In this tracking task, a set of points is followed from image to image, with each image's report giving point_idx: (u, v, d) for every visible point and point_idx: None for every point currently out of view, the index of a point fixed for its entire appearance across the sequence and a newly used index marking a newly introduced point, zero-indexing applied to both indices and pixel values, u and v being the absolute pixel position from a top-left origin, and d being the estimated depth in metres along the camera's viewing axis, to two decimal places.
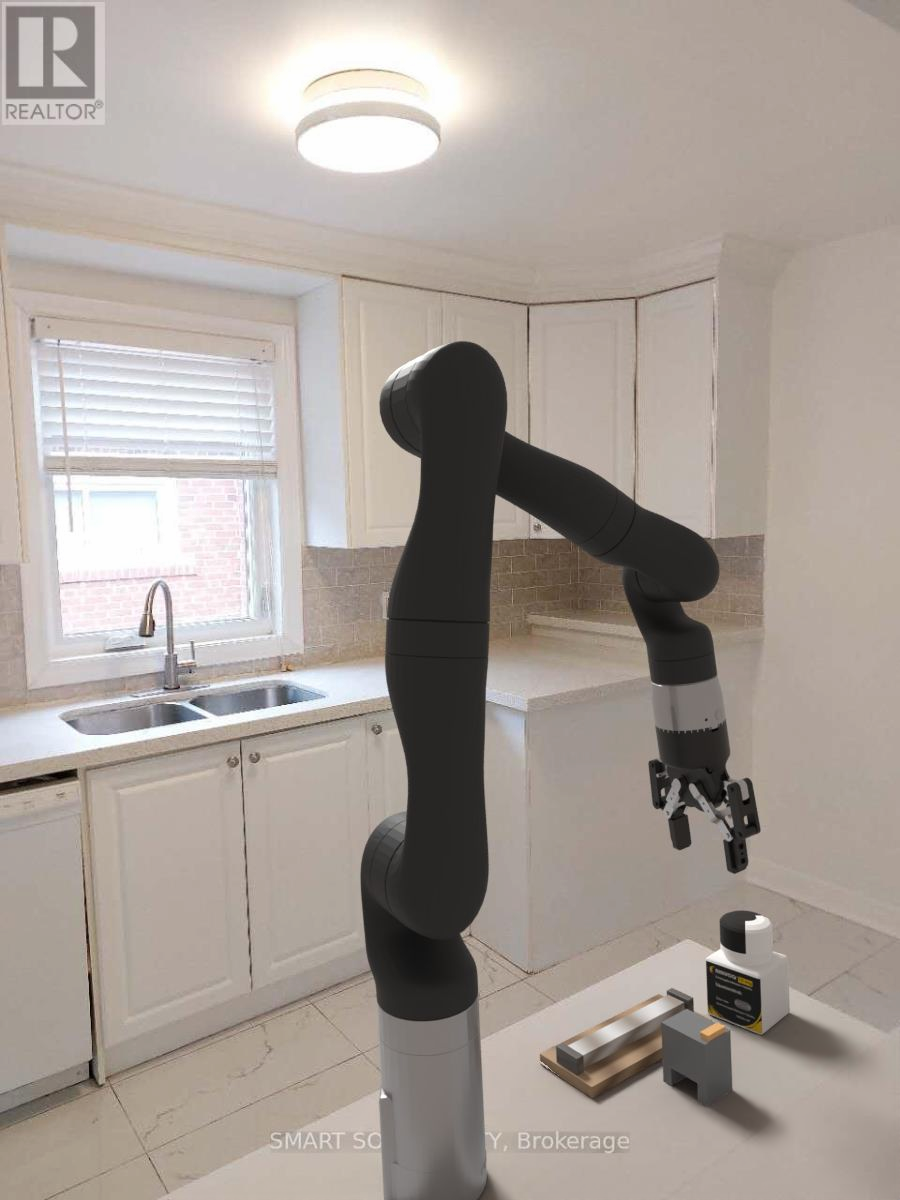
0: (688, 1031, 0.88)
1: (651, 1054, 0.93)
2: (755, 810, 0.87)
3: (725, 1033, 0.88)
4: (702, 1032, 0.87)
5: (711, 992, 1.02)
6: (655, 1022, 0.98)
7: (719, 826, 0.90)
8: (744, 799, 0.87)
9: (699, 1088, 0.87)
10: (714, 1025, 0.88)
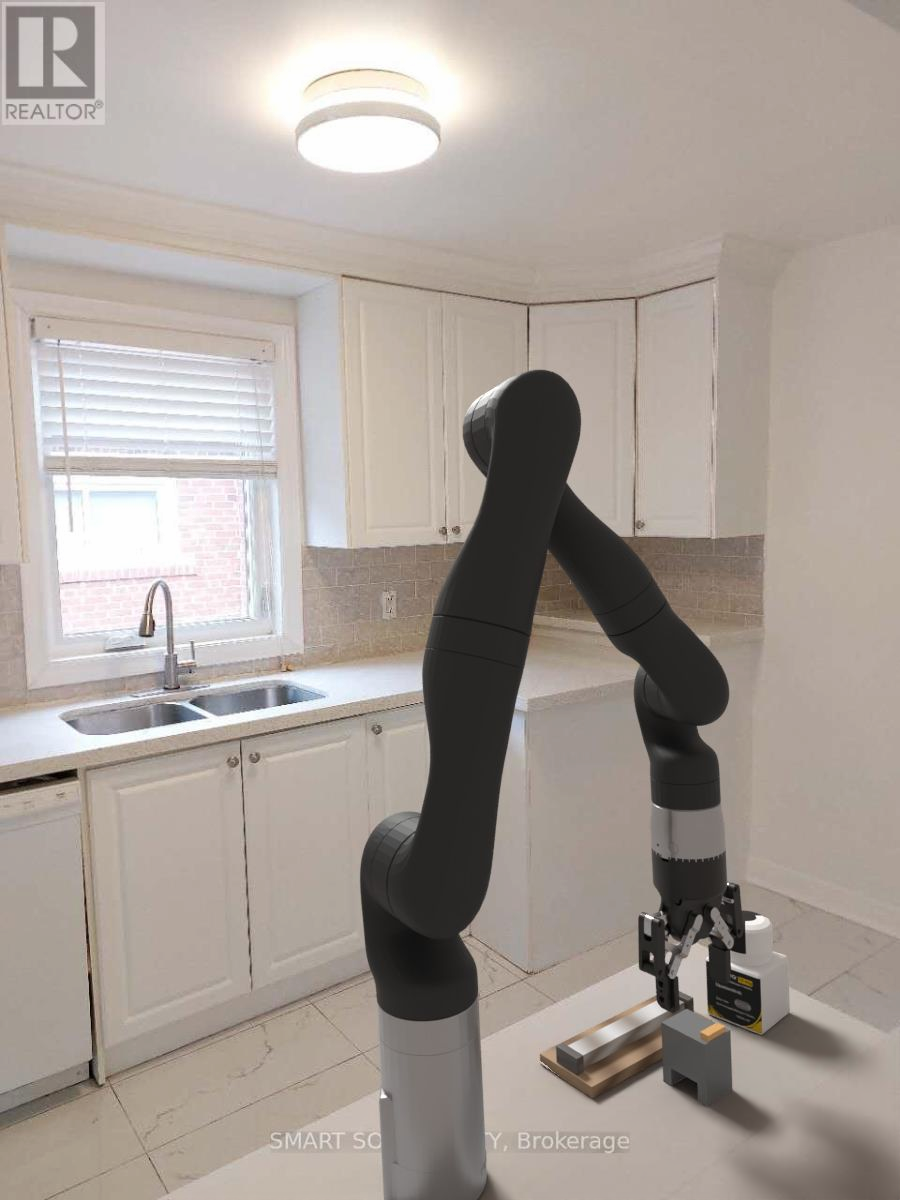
0: (688, 1031, 0.88)
1: (651, 1054, 0.93)
2: (655, 953, 0.84)
3: (725, 1033, 0.88)
4: (702, 1032, 0.87)
5: (711, 992, 1.02)
6: (655, 1022, 0.98)
7: None
8: (646, 934, 0.85)
9: (699, 1088, 0.87)
10: (714, 1025, 0.88)
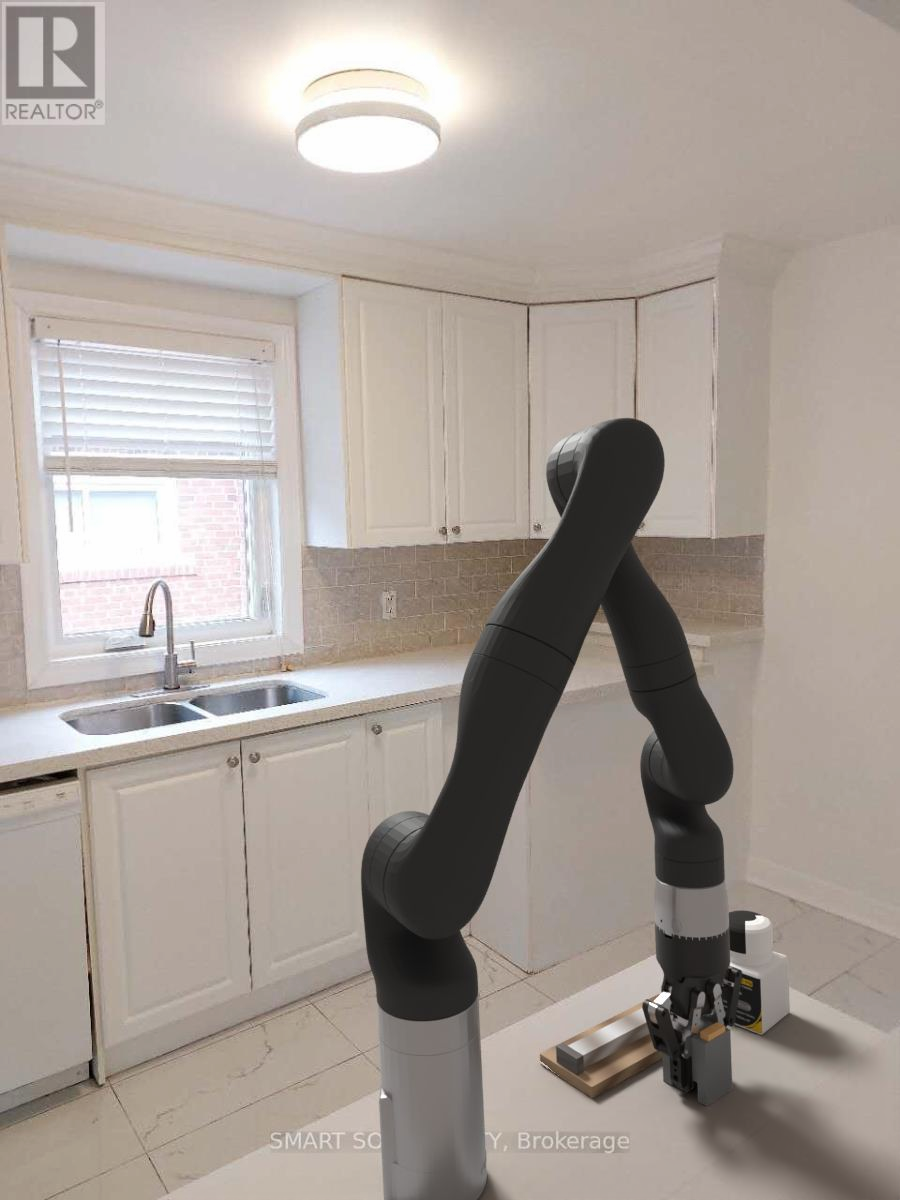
0: None
1: (651, 1054, 0.93)
2: (665, 1039, 0.85)
3: (725, 1032, 0.88)
4: (702, 1032, 0.87)
5: None
6: None
7: None
8: (654, 1022, 0.86)
9: (699, 1088, 0.87)
10: (714, 1025, 0.88)
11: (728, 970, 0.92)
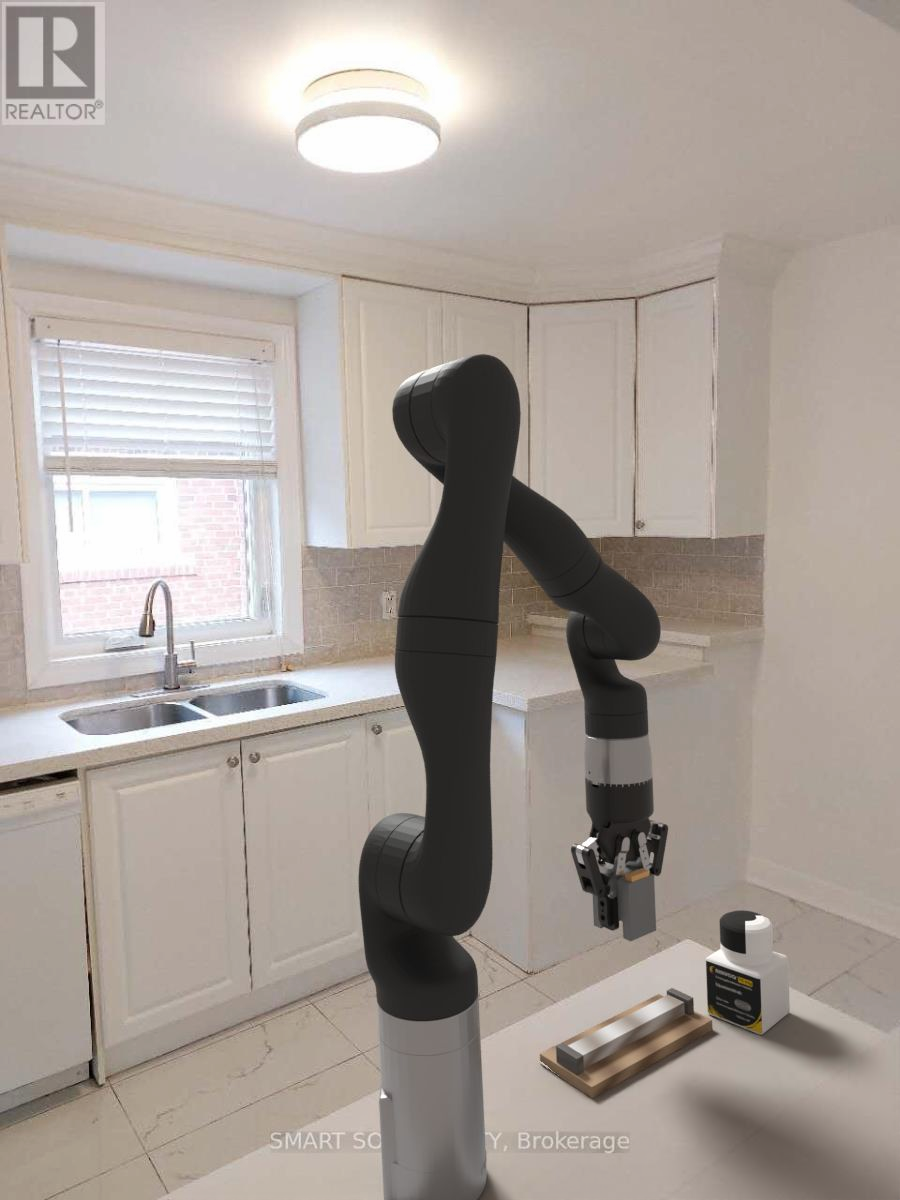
0: None
1: (651, 1054, 0.93)
2: (591, 878, 0.92)
3: (649, 876, 0.95)
4: (627, 874, 0.94)
5: (711, 992, 1.02)
6: (655, 1022, 0.98)
7: None
8: (581, 863, 0.93)
9: (624, 925, 0.94)
10: (639, 870, 0.95)
11: (655, 825, 0.99)
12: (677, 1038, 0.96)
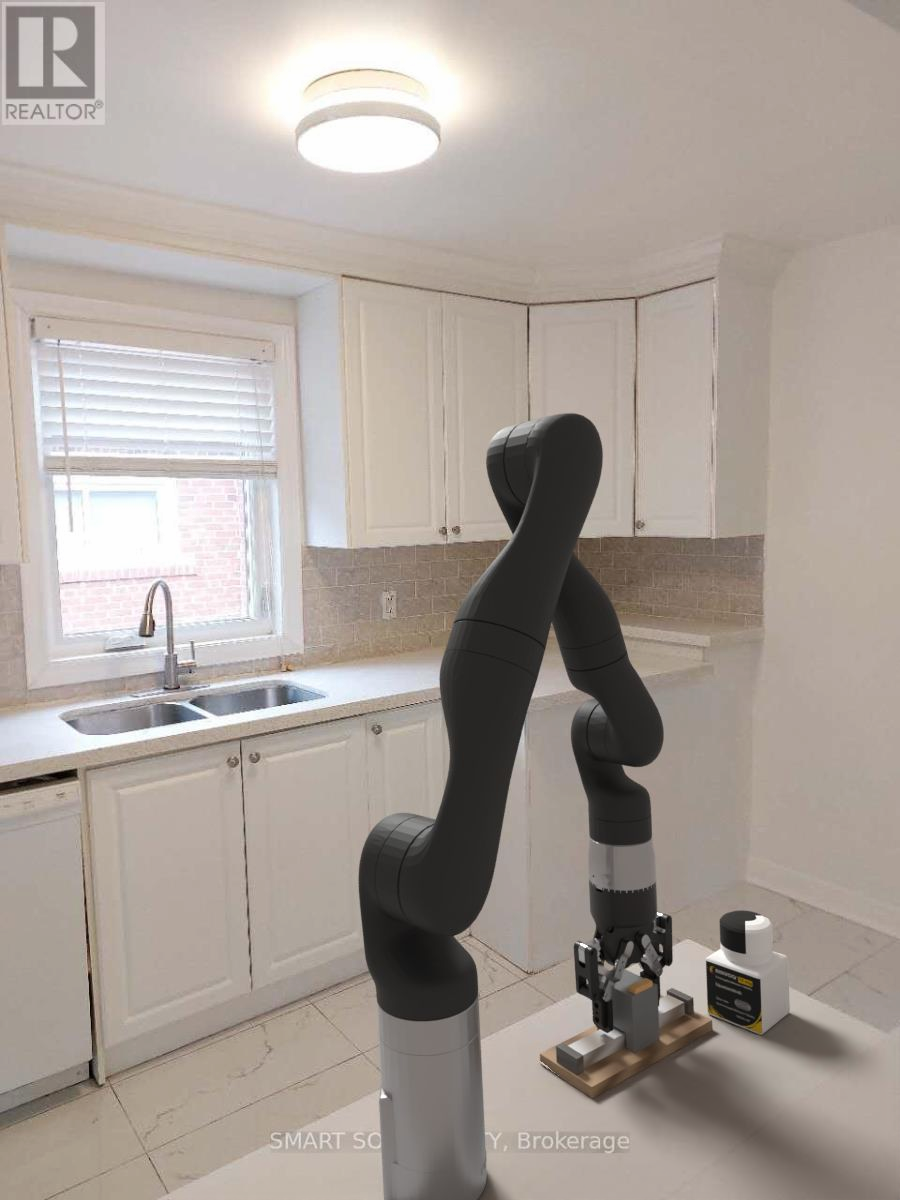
0: (618, 985, 0.96)
1: (651, 1054, 0.93)
2: (589, 979, 0.92)
3: (652, 987, 0.95)
4: (630, 986, 0.95)
5: (711, 992, 1.02)
6: None
7: None
8: (581, 961, 0.93)
9: (627, 1037, 0.94)
10: (642, 980, 0.96)
11: (658, 918, 0.99)
12: (677, 1038, 0.96)
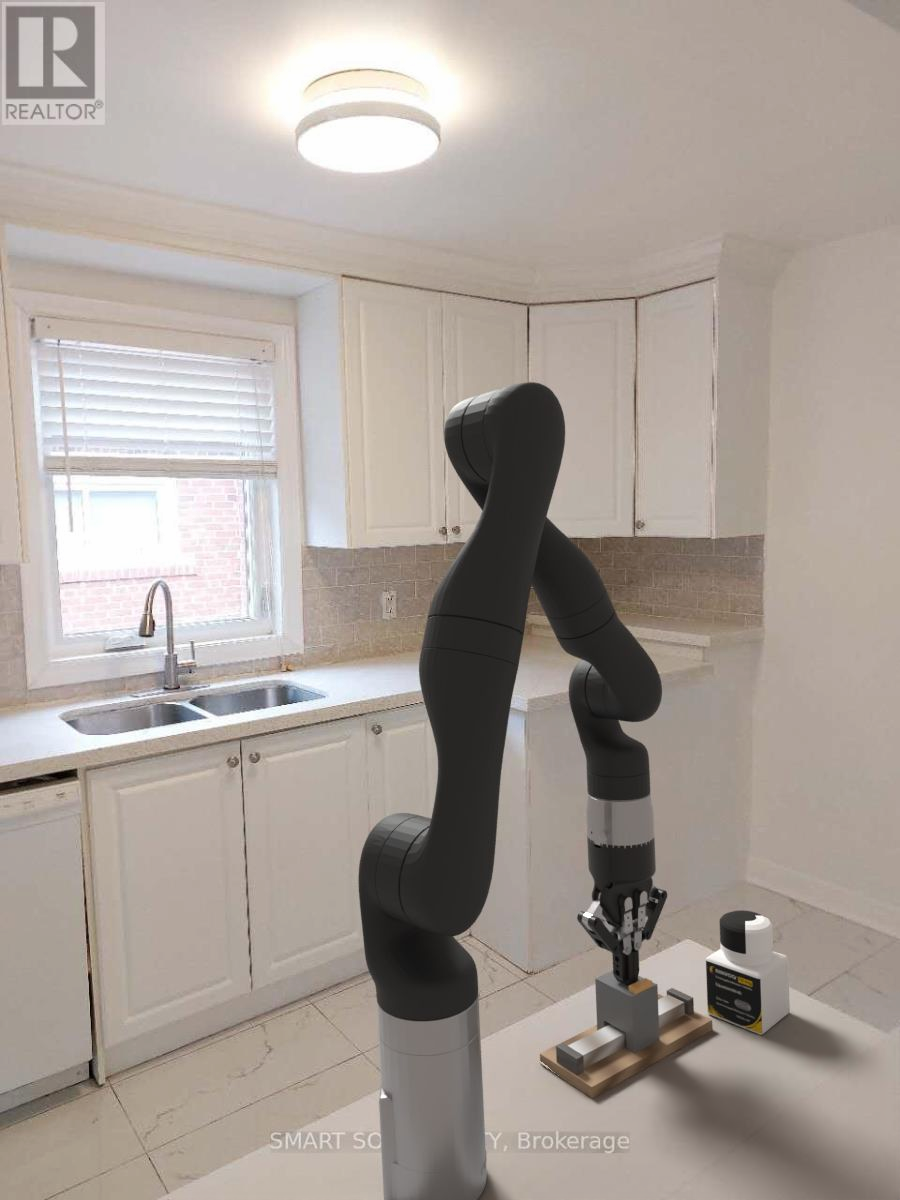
0: (618, 986, 0.96)
1: (651, 1054, 0.93)
2: (604, 941, 0.93)
3: (652, 987, 0.95)
4: (630, 986, 0.95)
5: (711, 992, 1.02)
6: None
7: None
8: (590, 930, 0.94)
9: (627, 1037, 0.94)
10: (642, 980, 0.96)
11: (655, 889, 0.99)
12: (677, 1038, 0.96)
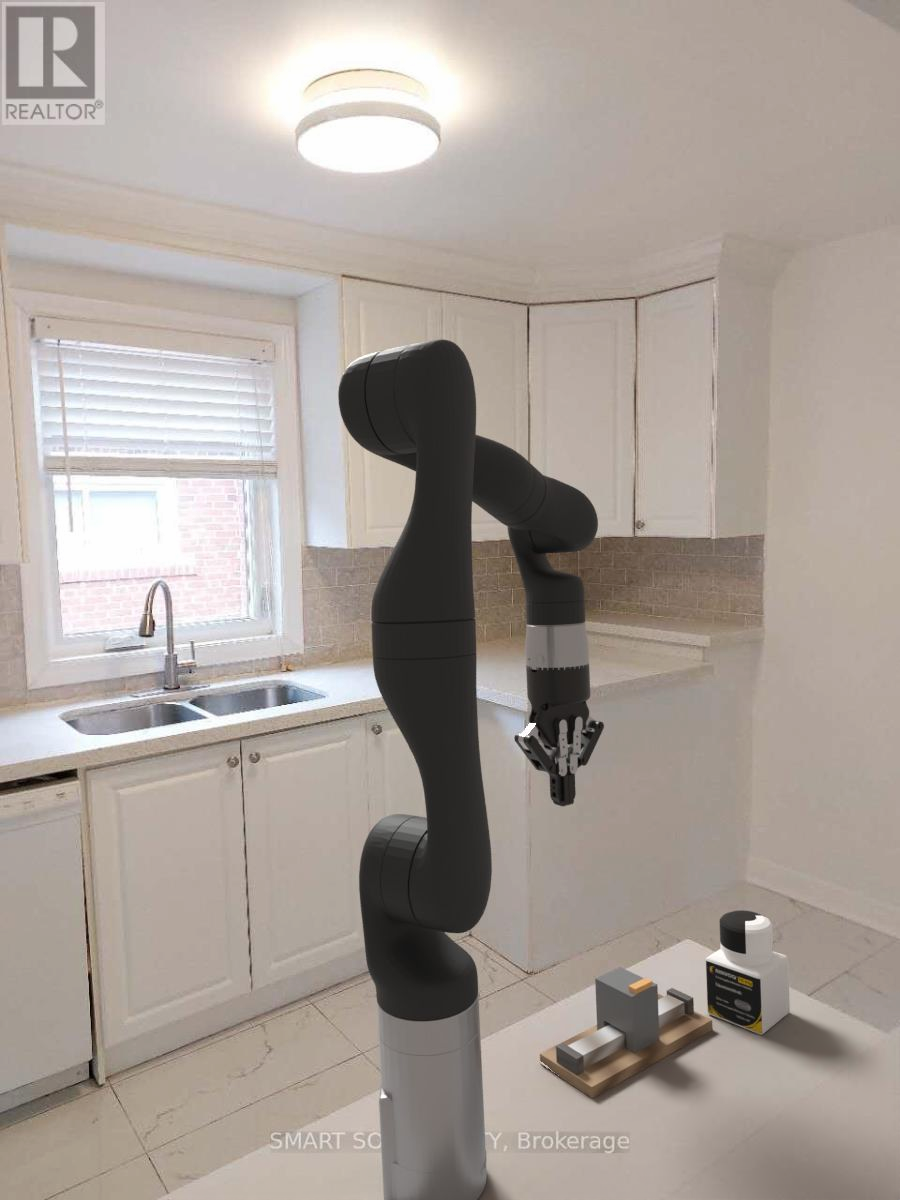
0: (618, 985, 0.96)
1: (651, 1054, 0.93)
2: (539, 760, 0.99)
3: (652, 987, 0.95)
4: (630, 986, 0.95)
5: (711, 992, 1.02)
6: None
7: None
8: (526, 749, 0.99)
9: (627, 1037, 0.94)
10: (642, 980, 0.96)
11: (592, 720, 1.04)
12: (677, 1038, 0.96)
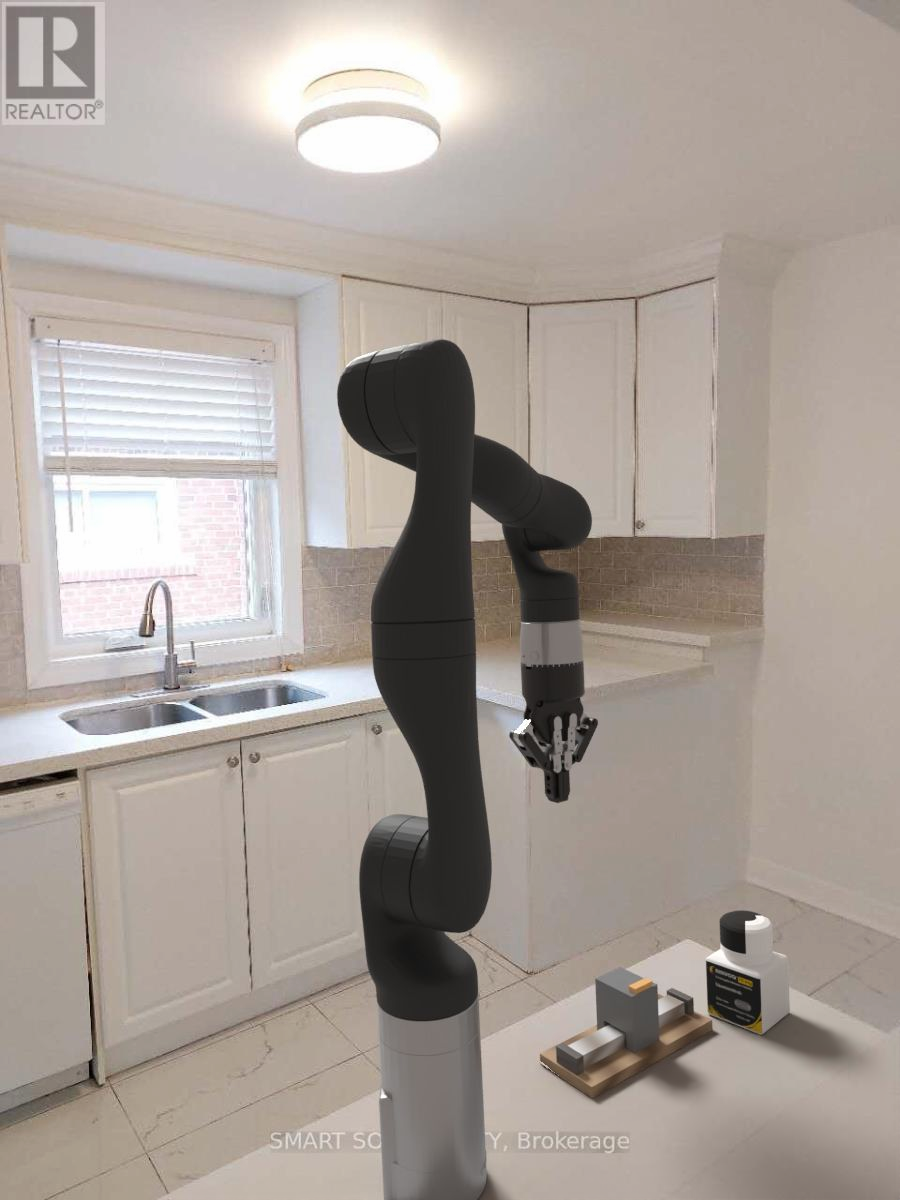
0: (618, 985, 0.96)
1: (651, 1054, 0.93)
2: (534, 756, 0.99)
3: (652, 987, 0.95)
4: (630, 986, 0.95)
5: (711, 992, 1.02)
6: None
7: (545, 754, 1.03)
8: (521, 746, 0.99)
9: (627, 1037, 0.94)
10: (642, 980, 0.96)
11: (586, 717, 1.05)
12: (677, 1038, 0.96)
